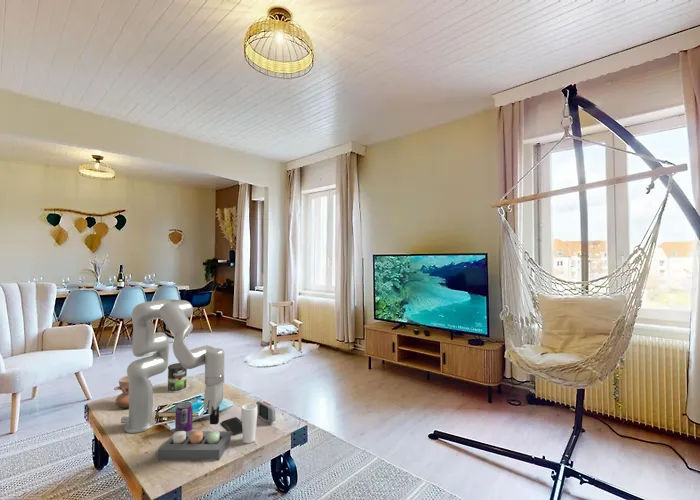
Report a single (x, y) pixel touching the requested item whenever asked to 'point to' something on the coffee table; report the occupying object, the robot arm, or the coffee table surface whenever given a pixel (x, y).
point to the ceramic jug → (124, 397)
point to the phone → (233, 425)
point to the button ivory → (179, 437)
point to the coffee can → (176, 377)
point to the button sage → (213, 437)
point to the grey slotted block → (194, 448)
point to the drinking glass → (249, 422)
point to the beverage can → (184, 417)
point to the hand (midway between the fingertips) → (214, 423)
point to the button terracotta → (196, 437)
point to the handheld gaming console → (265, 411)
